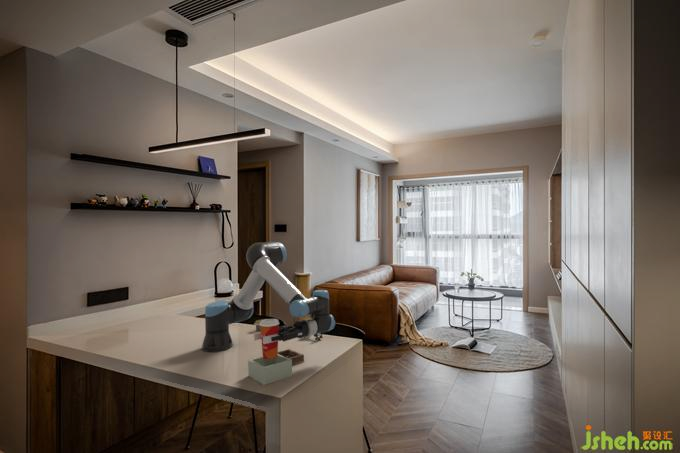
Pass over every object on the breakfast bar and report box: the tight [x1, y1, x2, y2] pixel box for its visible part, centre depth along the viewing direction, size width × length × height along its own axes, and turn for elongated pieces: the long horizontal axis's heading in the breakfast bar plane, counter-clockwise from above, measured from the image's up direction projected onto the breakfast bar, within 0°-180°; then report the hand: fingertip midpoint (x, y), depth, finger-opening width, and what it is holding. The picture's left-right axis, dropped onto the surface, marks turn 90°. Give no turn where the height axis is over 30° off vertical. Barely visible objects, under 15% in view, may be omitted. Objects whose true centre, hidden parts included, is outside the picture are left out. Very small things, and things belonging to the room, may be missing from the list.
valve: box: [303, 332, 325, 341], centre depth 203 cm, size 7×7×12 cm
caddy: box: [247, 354, 293, 386], centre depth 151 cm, size 13×13×6 cm
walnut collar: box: [278, 348, 305, 366], centre depth 167 cm, size 12×12×3 cm
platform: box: [253, 318, 263, 332], centre depth 225 cm, size 12×18×7 cm, turn 137°
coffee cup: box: [259, 318, 280, 359], centre depth 151 cm, size 8×8×15 cm
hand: (258, 338), depth 148 cm, fingers closed on coffee cup, 7 cm apart
